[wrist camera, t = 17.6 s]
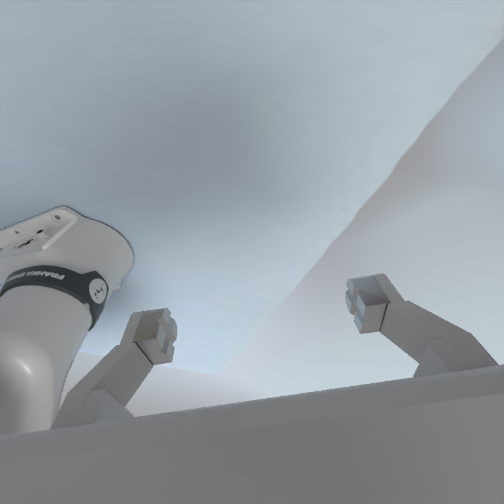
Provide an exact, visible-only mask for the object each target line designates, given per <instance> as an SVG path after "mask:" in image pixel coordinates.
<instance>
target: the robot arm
mask: <svg viewBox="0 0 504 504" xmlns="http://www.w3.org/2000/svg"><path fill="white" fill-rule="evenodd" d="M57 215H58V216H59V217H58V216H57ZM133 262H134V256H133V252H132V249H131V247H130V245H129V244H128V242H127V241H126V240H125V239H124V238H123V237H122V236H121V235H120V234H119V233H118V232H117V231H115V230H114V229H112V228H111V227H109V226H107V225H105V224H103V223H100V222H98V221H95V220H91V219H88V218H85V217H83V216H81V215H80V214H78V213H77V212H75V211H74V210H72V209H70V208H68V207H65V206H60V207H57V208H55V209H52V210H50V211H47V212H45V213H42V214H40V215H37V216H35V217H33V218H30V219H28V220H25V221H23V222H20V223H18V224H15V225H13V226H10V227H8V228H5V229H3V230H1V231H0V283H1V284H2V285H3V287H2V290H1V292H0V504H504V365H499V364H498V363H497V362H496V361H495V360H494V359H493V358H492V357H491V355H490V354H489V353H488V352H487V351H486V350H485V349H484V347H483V346H482V345H481V344H480V343H479V342H478V341H477V340H476V338H475V337H474V336H473V335H472V334H471V333H469V332H467V331H465V330H463V329H461V328H460V327H458V326H455V325H454V324H452V323H450V322H448V321H446V320H444V319H442V318H440V317H439V316H437V315H435V314H433V313H431V312H429V311H427V310H425V309H423V308H421V307H420V306H418V305H416V304H414V303H412V302H410V301H404V299H403V298H402V297H401V295H400V294H399V293H398V291H397V290H396V288H395V287H394V286H393V284H392V283H391V282H390V280H389V279H388V278H387V276H386V275H385V274H376V275H371V276H364V277H358V278H352V279H348V281H347V287H348V290H347V292H346V304H347V307H348V309H349V311H350V313H351V314H353V315H354V316H355V317H354V322H355V324H356V326H357V328H358V330H359V332H360V334H363V333H371V332H379V331H380V333H382V334H383V335H384V336H386V337H387V338H388V339H389V340H390V341H392V342H393V343H394V344H396V345H397V346H398V347H399V348H401V349H402V350H403V351H404V352H406V353H407V354H408V355H409V356H411V357H412V358H413V359H414V360H416V361H417V362H418V363H419V365H418V367H417V369H416V371H415V373H414V375H413V378H406V379H399V380H392V381H385V382H379V383H371V384H365V385H357V386H350V387H343V388H336V389H329V390H322V391H315V392H308V393H301V394H294V395H287V396H280V397H273V398H266V399H259V400H252V401H245V402H238V403H231V404H224V405H217V406H210V407H203V408H196V409H190V410H182V411H176V412H168V413H161V414H155V415H148V416H140V417H134V416H133V414H132V413H131V412H130V411H129V410H128V409H127V408H125V406H126V404H127V403H128V402H129V400H130V399H131V398H132V396H133V395H134V393H135V392H136V390H137V389H138V388H139V386H140V385H141V383H142V382H143V380H144V379H145V377H146V376H147V375H148V373H149V372H150V371H151V369H152V368H153V365H158V364H164V363H169V362H172V359H173V354H174V349H175V348H174V346H173V345H172V344H173V343H174V341H175V340H176V338H177V325H176V322H175V320H174V319H173V318H171V317H170V311H169V310H168V308H163V309H155V310H148V311H141V312H134V313H133V314H132V315H131V317H130V319H129V322H128V324H127V327H126V330H125V332H124V335H123V337H122V340H121V342H120V345H116V346H115V347H114V348H113V349H112V350H111V351H110V352H109V353H108V354H107V355H106V356H105V357H104V358H103V359H102V360H101V361H100V362H99V363H98V364H97V365H96V366H95V367H94V368H93V369H92V370H91V371H90V372H89V373H88V374H87V375H86V376H85V377H84V378H83V379H81V381H79V382H78V383H77V384H76V385H75V386H74V387H73V388H72V389H71V390H70V391H69V392H68V393H67V396H66V397H65V400H64V402H63V404H62V406H61V408H60V410H59V407H60V401H61V396H62V392H63V388H64V384H65V381H66V378H67V375H68V372H69V370H70V368H71V365H72V363H73V361H74V359H75V357H76V355H77V352H78V350H79V348H80V346H81V344H82V342H83V340H84V338H85V336H86V334H87V332H88V331H90V330H91V329H92V328H93V327H94V325H95V323H96V322H97V321H98V319H99V316H100V314H101V312H102V311H103V309H104V306H105V304H106V303H107V301H108V300H109V298H110V297H111V295H112V294H113V292H114V291H116V290H118V289H119V287H120V286H121V284H122V279H123V278H124V277H125V276H126V274H127V273H128V272H129V271H130V270H131V268H132V266H133Z"/></svg>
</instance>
